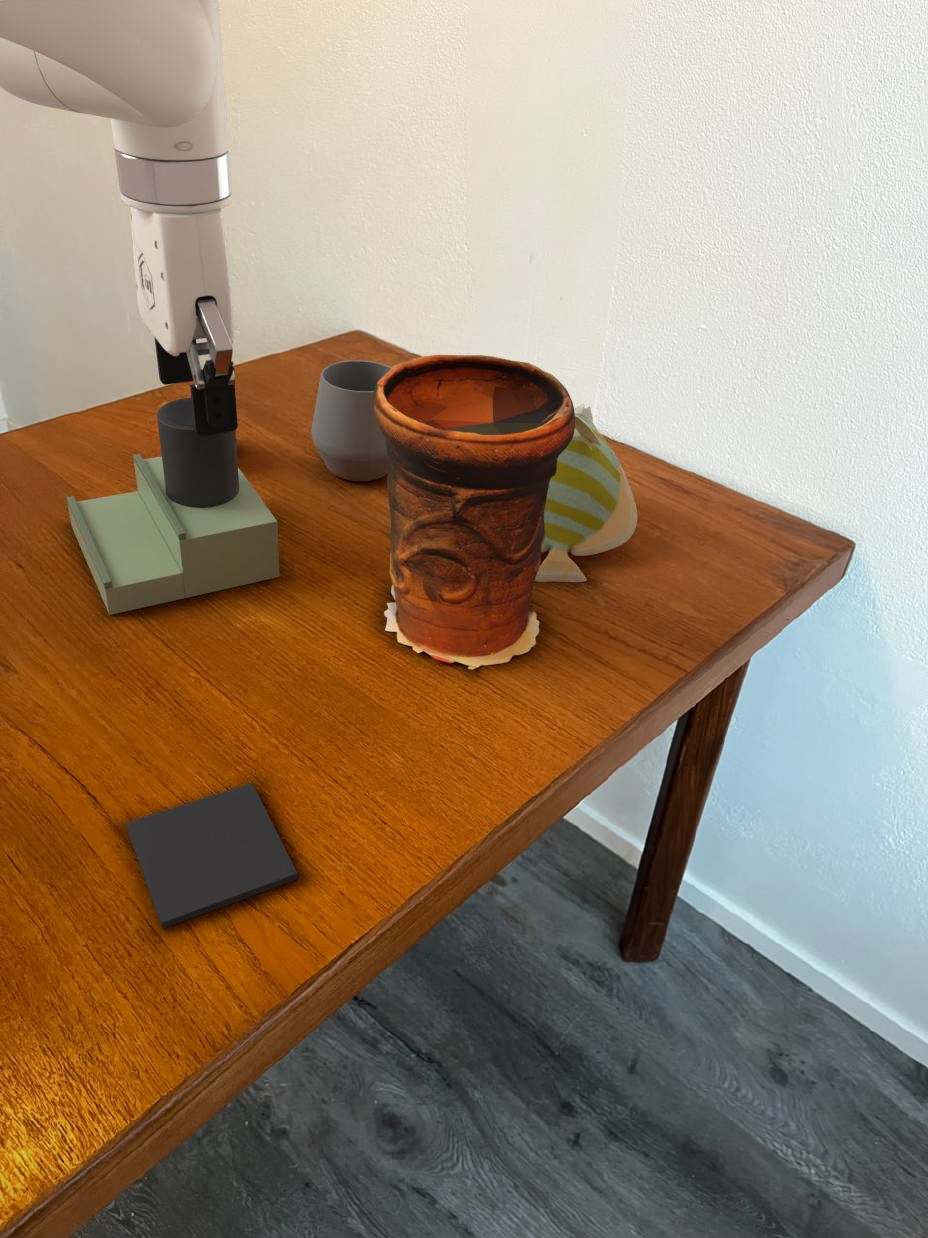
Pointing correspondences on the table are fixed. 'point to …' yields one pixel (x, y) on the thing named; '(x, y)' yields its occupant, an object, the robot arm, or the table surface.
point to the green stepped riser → (172, 542)
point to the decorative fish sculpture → (585, 503)
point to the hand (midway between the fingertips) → (197, 405)
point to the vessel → (468, 500)
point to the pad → (209, 854)
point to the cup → (350, 421)
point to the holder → (196, 459)
